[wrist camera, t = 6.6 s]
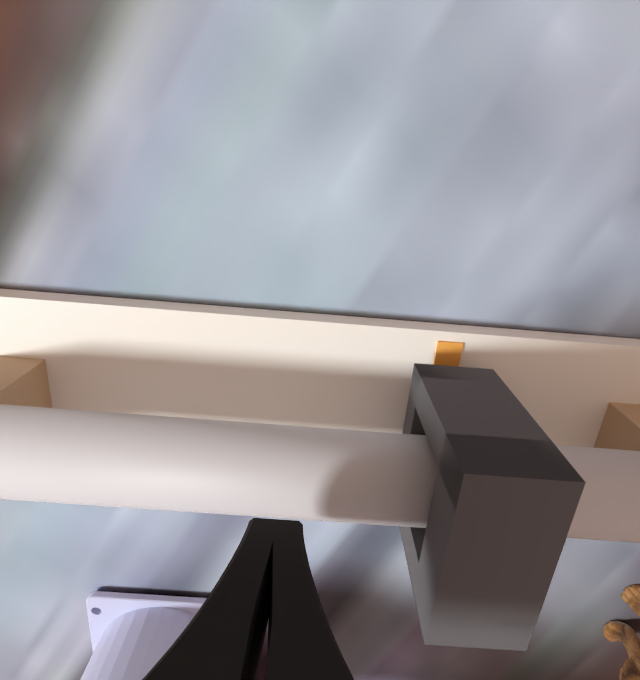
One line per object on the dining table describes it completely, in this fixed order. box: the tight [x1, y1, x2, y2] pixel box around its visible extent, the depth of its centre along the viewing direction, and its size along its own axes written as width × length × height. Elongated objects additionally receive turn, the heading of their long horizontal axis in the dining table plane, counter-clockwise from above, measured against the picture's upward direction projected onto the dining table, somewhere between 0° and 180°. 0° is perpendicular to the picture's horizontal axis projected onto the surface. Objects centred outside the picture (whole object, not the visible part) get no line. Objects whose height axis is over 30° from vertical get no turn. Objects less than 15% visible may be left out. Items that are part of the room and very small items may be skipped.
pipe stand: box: [0, 289, 640, 543], centre depth 17 cm, size 8×29×6 cm, turn 85°
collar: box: [400, 363, 586, 651], centre depth 15 cm, size 6×3×7 cm, turn 175°
